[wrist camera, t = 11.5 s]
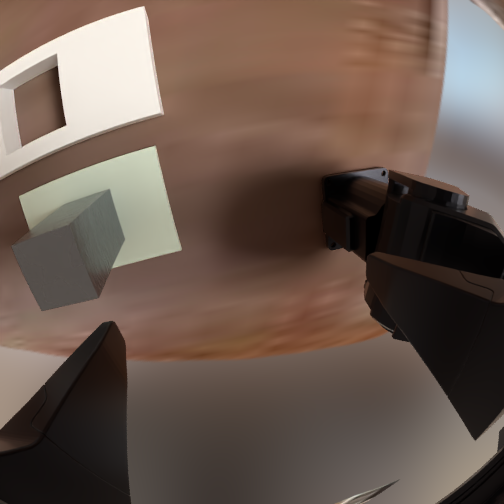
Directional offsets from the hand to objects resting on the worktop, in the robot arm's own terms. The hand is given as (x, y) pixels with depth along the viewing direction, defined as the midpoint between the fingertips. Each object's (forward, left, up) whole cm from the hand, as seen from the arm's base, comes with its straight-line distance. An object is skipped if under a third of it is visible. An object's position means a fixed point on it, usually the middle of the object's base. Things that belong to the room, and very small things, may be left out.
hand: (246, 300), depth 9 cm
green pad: (+9, -1, -13) cm, 16 cm away
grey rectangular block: (+9, -1, -12) cm, 15 cm away
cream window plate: (+10, -11, -13) cm, 20 cm away
